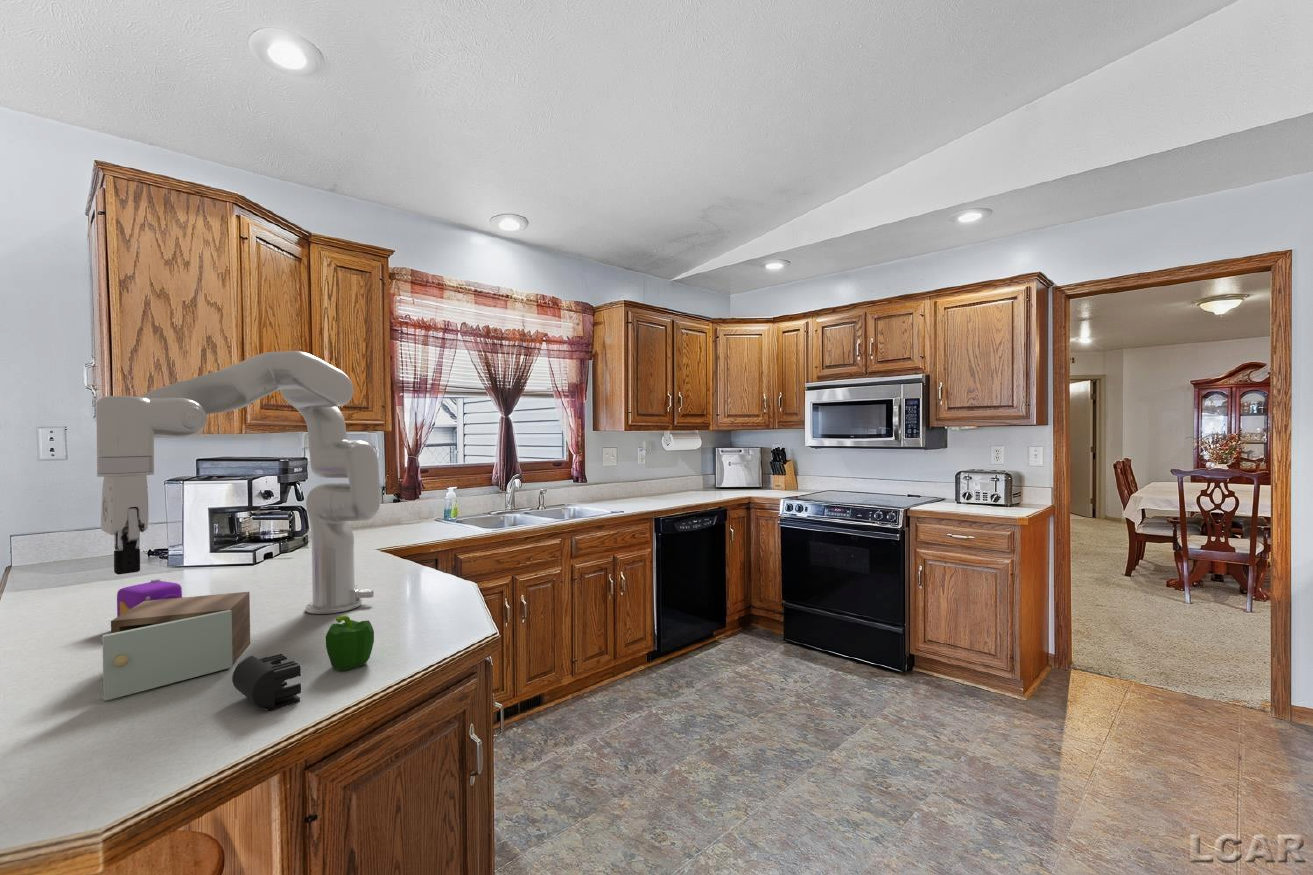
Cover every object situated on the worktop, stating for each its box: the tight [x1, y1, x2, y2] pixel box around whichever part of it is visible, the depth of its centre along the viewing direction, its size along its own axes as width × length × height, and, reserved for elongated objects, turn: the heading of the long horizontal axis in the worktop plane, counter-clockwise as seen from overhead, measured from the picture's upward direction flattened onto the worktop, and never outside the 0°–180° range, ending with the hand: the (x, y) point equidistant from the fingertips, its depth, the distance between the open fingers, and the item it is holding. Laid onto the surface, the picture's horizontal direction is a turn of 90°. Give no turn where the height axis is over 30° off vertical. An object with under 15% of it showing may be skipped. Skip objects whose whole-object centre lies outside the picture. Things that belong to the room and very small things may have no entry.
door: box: [101, 610, 234, 701], centre depth 107 cm, size 18×2×11 cm, turn 141°
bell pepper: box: [325, 615, 375, 671], centre depth 115 cm, size 8×8×10 cm
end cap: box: [231, 653, 302, 712], centre depth 100 cm, size 10×7×7 cm
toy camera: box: [116, 578, 183, 618], centre depth 141 cm, size 11×14×10 cm
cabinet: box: [110, 591, 251, 665], centre depth 119 cm, size 18×14×11 cm
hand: (127, 572), depth 106 cm, fingers closed
